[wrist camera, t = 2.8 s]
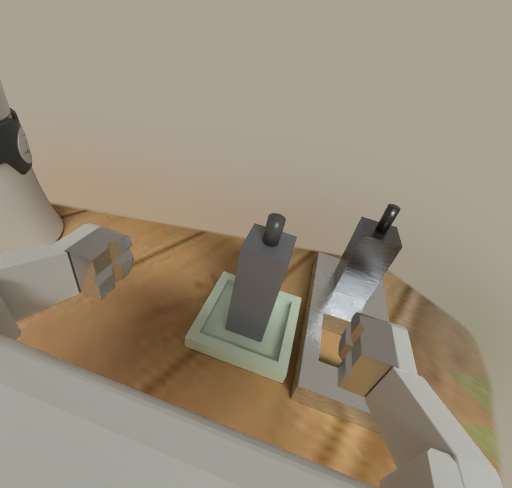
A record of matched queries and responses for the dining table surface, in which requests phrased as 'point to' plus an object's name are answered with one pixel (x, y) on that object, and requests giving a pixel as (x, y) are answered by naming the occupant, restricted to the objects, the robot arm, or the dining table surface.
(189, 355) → the dining table surface
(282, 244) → the plug
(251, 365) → the tray
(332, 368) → the pillar on holed base
